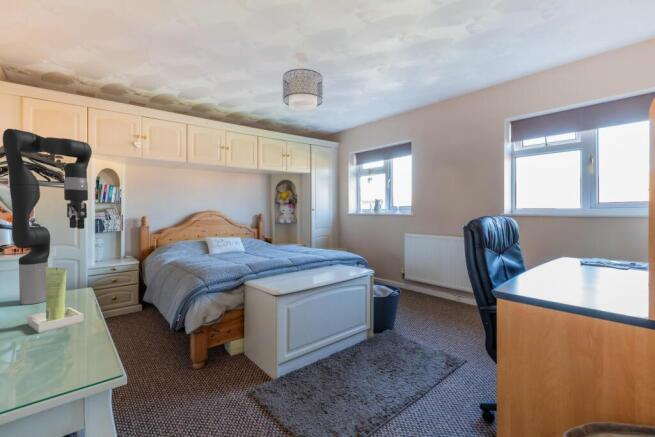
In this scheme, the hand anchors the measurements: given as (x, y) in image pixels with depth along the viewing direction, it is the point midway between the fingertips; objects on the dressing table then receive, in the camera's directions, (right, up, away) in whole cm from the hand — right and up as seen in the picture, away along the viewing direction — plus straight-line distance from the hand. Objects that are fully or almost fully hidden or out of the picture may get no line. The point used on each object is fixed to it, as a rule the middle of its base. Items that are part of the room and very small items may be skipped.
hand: (77, 228), depth 125 cm
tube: (+6, -33, -17) cm, 38 cm away
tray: (+6, -34, -17) cm, 38 cm away
